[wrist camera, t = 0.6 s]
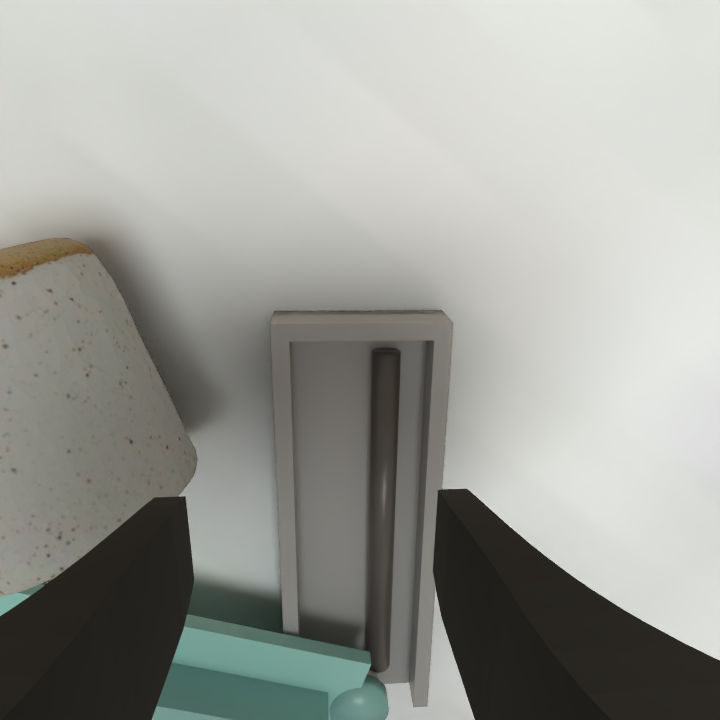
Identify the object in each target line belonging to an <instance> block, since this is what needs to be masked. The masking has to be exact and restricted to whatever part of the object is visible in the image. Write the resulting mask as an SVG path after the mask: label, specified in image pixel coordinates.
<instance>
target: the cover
mask: <svg viewBox="0 0 720 720" xmlns="http://www.w3.org/2000/svg"><path fill="white" fill-rule="evenodd" d="M43 586H45V584H39V585H37V586H34V587H32V588H30V589H28V590H25V591H21V592H17V593H14V594H11V595H6V596H2V597H0V616H1V615H3V614H4V613H6V612H7V611H9V610H10V609H12V608H13V607H15V606H16V605H18V604H19V603H21V602H22V601H24V600H25V599H27V598H28V597H29V596H31V595H32V594H34V593H35V592H37V591H38V590H39V589H41V588H42V587H43ZM370 666H371V657H370V652H368V651H363V650H358V649H353V648H348V647H344V646H339V645H334V644H329V643H324V642H320V641H315V640H310V639H305V638H300V637H295V636H291V635H286V634H281V633H276V632H271V631H267V630H262V629H257V628H252V627H247V626H242V625H238V624H233V623H228V622H223V621H218V620H214V619H209V618H204V617H199V616H194V615H190V614H187V616H186V621H185V625H184V629H183V632H182V635H181V638H180V641H179V644H178V647H177V649H176V652H175V655H174V658H173V661H172V664H171V667H170V670H169V672H168V675H167V678H166V681H165V684H164V687H163V689H162V692H161V695H160V698H159V701H158V703H157V706H156V709H155V712H154V715H153V718H152V720H385V719H386V717H387V715H388V709H389V708H388V700H387V692H386V688H385V686H384V684H383V683H382V682H381V681H380V680H379V679H378V678H376V677H374V676H371V675H368V674H367V673H368V671H369V669H370Z"/></svg>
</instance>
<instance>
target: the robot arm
mask: <svg viewBox="0 0 720 720" xmlns="http://www.w3.org/2000/svg"><path fill="white" fill-rule="evenodd" d="M433 576H434V581H435V586H436V592H437V597H438V602H439V606H440V611H441V616H442V620H443V623H444V626H445V629H446V632H447V635H448V639H449V642H450V645H451V648H452V651H453V654H454V657H455V660H456V663H457V666H458V669H459V672H460V675H461V678H462V681H463V685H464V688H465V691H466V694H467V697H468V700H469V703H470V706H471V709H472V712H473V715H474V718H475V720H720V661H719V660H717V659H715V658H713V657H711V656H709V655H707V654H705V653H703V652H701V651H699V650H697V649H695V648H693V647H690V646H688V645H686V644H684V643H682V642H681V641H679V640H677V639H675V638H673V637H671V636H669V635H668V634H666V633H664V632H662V631H660V630H658V629H656V628H655V627H653V626H651V625H649V624H647V623H645V622H643V621H642V620H640V619H638V618H637V617H635V616H633V615H631V614H630V613H628V612H626V611H625V610H623V609H621V608H620V607H618V606H617V605H615V604H613V603H612V602H610V601H609V600H607V599H606V598H604V597H602V596H601V595H599V594H598V593H596V592H595V591H593V590H591V589H590V588H588V587H587V586H585V585H584V584H583V583H581V582H580V581H578V580H577V579H575V578H574V577H572V576H571V575H570V574H568V573H567V572H566V571H564V570H563V569H562V568H560V567H559V566H558V565H556V564H555V563H554V562H552V561H551V560H550V559H548V558H547V557H546V556H544V555H543V554H542V553H541V552H539V551H538V550H537V549H536V548H534V547H533V546H532V545H531V544H529V543H528V542H527V541H526V540H525V539H523V538H522V537H521V536H520V535H519V534H518V533H516V532H515V531H514V530H513V529H512V528H511V527H509V526H508V525H507V524H506V523H505V522H504V521H503V520H501V519H500V518H499V517H498V516H497V515H496V514H495V513H494V512H492V511H491V510H490V509H489V508H488V507H487V506H486V505H485V504H484V503H482V502H481V501H480V500H479V499H478V498H477V497H476V496H475V495H473V494H472V493H471V492H470V491H469V490H468V489H446V490H438V497H437V512H436V527H435V543H434V558H433ZM193 584H194V573H193V563H192V554H191V544H190V535H189V526H188V516H187V507H186V497H155V498H153V499H152V500H151V501H149V502H148V503H147V504H146V505H144V506H143V507H142V508H141V509H139V510H138V511H137V512H136V513H135V514H134V515H132V516H131V517H130V518H129V519H128V520H126V521H125V522H124V523H123V524H122V525H121V526H119V527H118V528H117V529H116V530H115V531H113V532H112V533H111V534H110V535H109V536H107V537H106V538H105V539H104V540H102V541H101V542H100V543H99V544H98V545H96V546H95V547H94V548H93V549H92V550H90V551H89V552H88V553H87V554H85V555H84V556H83V557H82V558H80V559H79V560H78V561H76V562H75V563H74V564H72V565H71V566H70V567H68V568H67V569H66V570H64V571H63V572H62V573H60V574H59V575H58V576H56V577H55V578H54V579H52V580H51V581H50V582H48V583H47V584H46V585H45V586H43V587H42V588H41V589H39V590H38V591H37V592H35V593H34V594H32V595H31V596H29V597H28V598H27V599H25V600H24V601H22V602H21V603H19V604H18V605H16V606H15V607H13V608H12V609H10V610H9V611H7V612H6V613H4V614H3V615H1V616H0V720H152V718H153V715H154V712H155V709H156V706H157V703H158V701H159V698H160V695H161V692H162V689H163V687H164V684H165V681H166V678H167V675H168V672H169V670H170V667H171V664H172V661H173V658H174V655H175V652H176V649H177V647H178V644H179V641H180V638H181V635H182V632H183V629H184V625H185V621H186V616H187V612H188V607H189V603H190V598H191V593H192V588H193Z"/></svg>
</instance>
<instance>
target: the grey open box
mask: <svg viewBox="0 0 720 720" xmlns="http://www.w3.org/2000/svg"><path fill="white" fill-rule="evenodd" d="M452 333H453V322H452V321H451V320H450V319H449V318H448V317H447V316H446V315H445V313H444V312H443V311H442V310H422V311H274V314H273V317H272V320H271V322H270V338H271V361H272V384H273V407H274V430H275V453H276V476H277V499H278V522H279V545H280V569H281V592H282V615H283V634H286V635H291V636H295V637H300V638H305V639H310V640H315V641H320V642H324V643H329V644H334V645H339V646H344V647H348V648H353V649H358V650H363V651H368V652H370V657H371V666H370V669H369V671H368V673H367V674H368V675H371V676H374V677H376V678H378V679H379V680H380V681H381V682H382V683H383V684H387V683H406V682H409V685H410V690H411V696H412V702H413V707H423V706H427V702H428V687H429V672H430V658H431V643H432V628H433V613H434V598H435V581H434V576H433V558H434V543H435V527H436V512H437V497H438V490H442V480H443V466H444V451H445V436H446V421H447V407H448V392H449V377H450V362H451V348H452Z"/></svg>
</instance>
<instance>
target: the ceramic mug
mask: <svg viewBox="0 0 720 720" xmlns="http://www.w3.org/2000/svg"><path fill="white" fill-rule="evenodd" d="M196 465H197V455H196V450H195V447H194V446H193V444H192V442H191V440H190V438H189V436H188V434H187V432H186V430H185V428H184V426H183V424H182V421H181V419H180V417H179V415H178V413H177V411H176V408H175V406H174V404H173V402H172V400H171V398H170V395H169V393H168V391H167V389H166V387H165V385H164V383H163V381H162V379H161V377H160V375H159V373H158V371H157V369H156V367H155V365H154V363H153V361H152V359H151V357H150V355H149V353H148V351H147V349H146V347H145V345H144V343H143V341H142V339H141V337H140V335H139V333H138V330H137V328H136V326H135V323H134V321H133V319H132V317H131V314H130V312H129V310H128V307H127V305H126V303H125V301H124V299H123V297H122V296H121V294H120V292H119V290H118V288H117V286H116V284H115V282H114V280H113V279H112V278H111V276H110V275H109V273H108V272H107V271H106V269H105V268H104V267H103V265H102V264H101V262H100V261H99V260H98V258H97V257H96V255H95V254H94V253H93V251H92V250H91V249H89V248H88V247H87V246H84V245H82V244H80V243H78V242H75V241H73V240H71V239H69V238H54V239H47V240H41V241H36V242H31V243H26V244H22V245H18V246H13V247H9V248H5V249H1V250H0V597H2V596H6V595H11V594H14V593H17V592H21V591H25V590H28V589H30V588H32V587H34V586H37V585H39V584H41V583H44V582H47V581H49V580H52V579H54V578H55V577H56V576H58V575H59V574H60V573H62V572H63V571H64V570H66V569H67V568H68V567H70V566H71V565H72V564H74V563H75V562H76V561H78V560H79V559H80V558H82V557H83V556H84V555H85V554H87V553H88V552H89V551H90V550H92V549H93V548H94V547H95V546H96V545H98V544H99V543H100V542H101V541H102V540H104V539H105V538H106V537H107V536H109V535H110V534H111V533H112V532H113V531H115V530H116V529H117V528H118V527H119V526H121V525H122V524H123V523H124V522H125V521H126V520H128V519H129V518H130V517H131V516H132V515H134V514H135V513H136V512H137V511H138V510H139V509H141V508H142V507H143V506H144V505H146V504H147V503H148V502H149V501H151V500H152V499H153V498H155V497H178V496H179V495H180V493H181V492H182V491H183V490H184V488H185V487H186V486H187V485H188V483H189V482H190V480H191V479H192V477H193V476H194V473H195V470H196Z"/></svg>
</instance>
